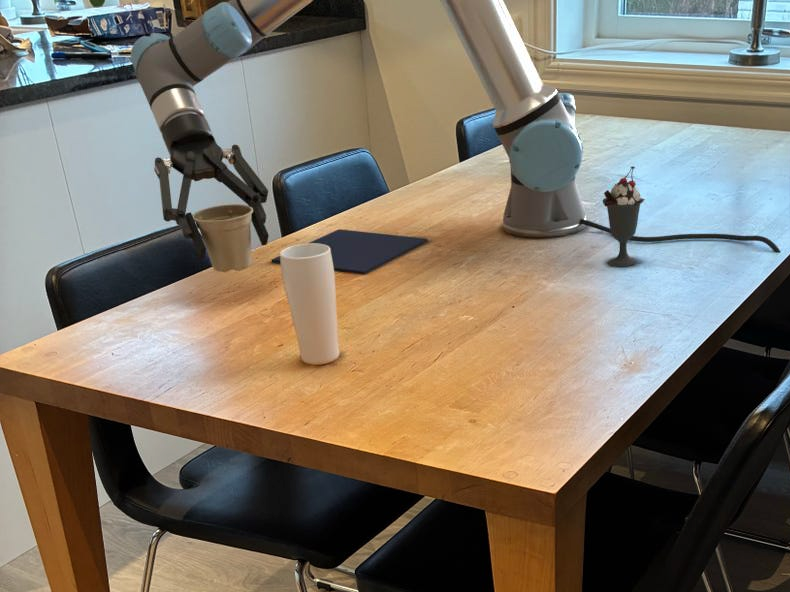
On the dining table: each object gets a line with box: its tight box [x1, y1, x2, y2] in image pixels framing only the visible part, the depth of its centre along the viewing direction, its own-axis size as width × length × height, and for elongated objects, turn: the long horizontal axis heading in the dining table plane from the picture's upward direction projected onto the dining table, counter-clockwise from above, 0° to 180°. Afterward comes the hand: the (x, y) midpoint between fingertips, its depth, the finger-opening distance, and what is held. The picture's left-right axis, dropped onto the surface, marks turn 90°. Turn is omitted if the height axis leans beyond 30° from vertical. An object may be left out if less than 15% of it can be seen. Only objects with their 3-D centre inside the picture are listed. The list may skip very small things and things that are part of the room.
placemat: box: [270, 229, 429, 275], centre depth 185 cm, size 20×20×1 cm
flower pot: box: [192, 203, 253, 273], centre depth 164 cm, size 9×9×9 cm
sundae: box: [602, 166, 645, 268], centre depth 167 cm, size 7×7×15 cm
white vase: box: [278, 242, 341, 366], centre depth 138 cm, size 7×7×15 cm
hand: (234, 247), depth 162 cm, fingers closed on flower pot, 9 cm apart
